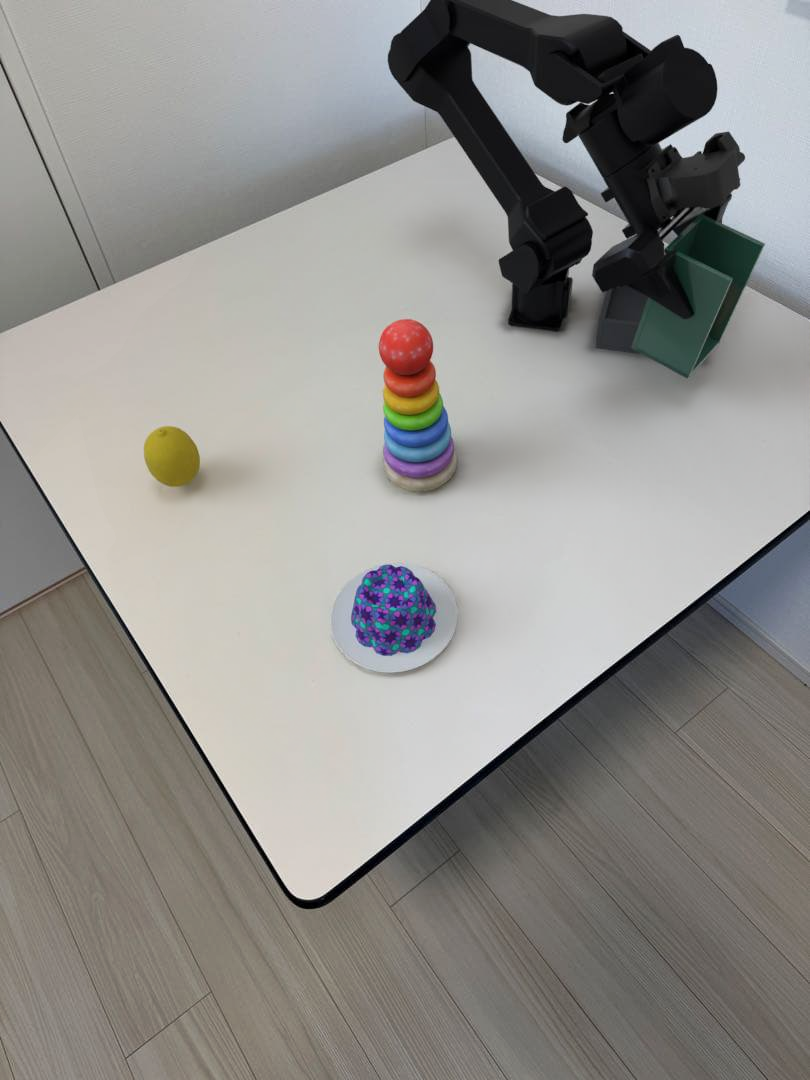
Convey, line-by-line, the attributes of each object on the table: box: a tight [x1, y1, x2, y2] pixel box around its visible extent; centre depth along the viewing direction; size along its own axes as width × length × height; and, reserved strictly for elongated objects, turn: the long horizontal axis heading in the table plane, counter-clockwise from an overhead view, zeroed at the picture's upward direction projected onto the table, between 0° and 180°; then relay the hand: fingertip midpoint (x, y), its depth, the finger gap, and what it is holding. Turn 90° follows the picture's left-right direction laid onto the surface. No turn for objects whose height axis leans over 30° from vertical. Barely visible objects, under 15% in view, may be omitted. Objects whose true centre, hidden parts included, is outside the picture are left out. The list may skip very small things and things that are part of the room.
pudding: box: [329, 562, 459, 673], centre depth 75 cm, size 12×12×5 cm
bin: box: [595, 286, 648, 355], centre depth 98 cm, size 12×12×4 cm
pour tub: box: [631, 214, 766, 380], centre depth 84 cm, size 7×7×13 cm
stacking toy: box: [378, 318, 458, 493], centre depth 81 cm, size 8×8×19 cm
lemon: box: [143, 425, 201, 488], centre depth 87 cm, size 6×6×8 cm
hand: (707, 298), depth 82 cm, fingers closed on pour tub, 7 cm apart
